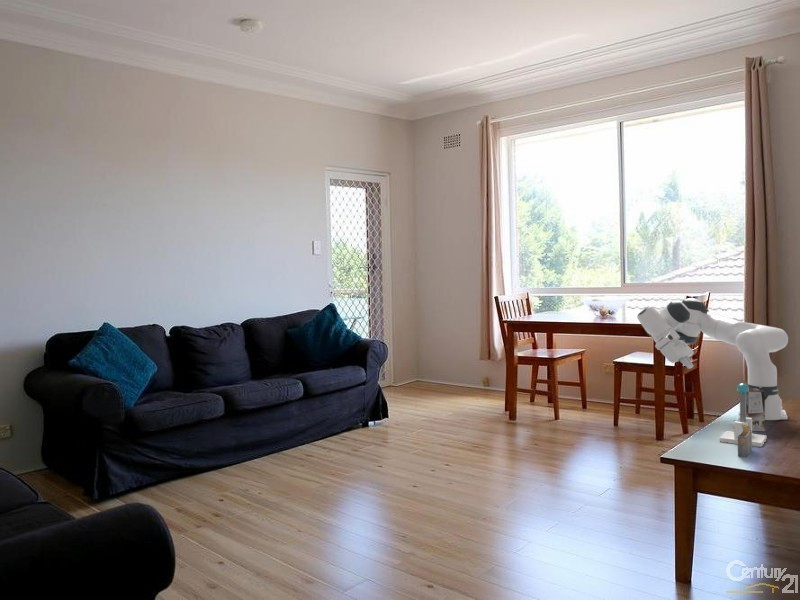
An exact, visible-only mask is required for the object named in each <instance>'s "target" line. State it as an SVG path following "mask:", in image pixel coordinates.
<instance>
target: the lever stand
mask: <svg viewBox="0 0 800 600" xmlns="http://www.w3.org/2000/svg"><path fill="white" fill-rule="evenodd" d="M742 424H744V425H746V426H748V425H749V427H750V428H751V429H750V430H752V418H747V417H746V422H740V416H738V421H737V420H735V421H733V431H730V430H726V431H725V432H723V434H721V436H719V442H720V441H721V443H726V442H728V443H729V444H734V445H736V444H737V445H738V436H739V434H740V433H741V432H742V430H743V428H742V426H741V425H742ZM766 439H767V440H768V438H767V435H766V434H765V435H764V434H757V433H756V434H755V433H752V447H758V448H759V447H760V448H762V447H763V445H764V444H765V443H764V442H766V441H767V440H766Z"/></svg>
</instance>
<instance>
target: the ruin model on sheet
mask: <svg viewBox="0 0 800 600" xmlns="http://www.w3.org/2000/svg"><path fill="white" fill-rule="evenodd" d="M741 426H742V428H743V430H742V432H741V433H740V434H739V436H738V444H737V457H739V458H747V457H748V456H749V454H750V453H751V451H752V450H753V448H752V447H753V446H752V434H753V431H752V430H750V429H751V428H750V427H748V426H746V425H744V424H742V425H741Z"/></svg>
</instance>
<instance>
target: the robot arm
mask: <svg viewBox="0 0 800 600" xmlns="http://www.w3.org/2000/svg"><path fill="white" fill-rule="evenodd" d="M707 312H710V310H709V309H708V308H707V305H706V304H705V303H704V302H703V301H701V299H698V298H696V297H695V298H694V297H689V298H684V299H683V300H682V301H680V300H671V301H670V302H669V303H668V304H667V305H666V306H665V307H663V308H661V309H659V310H657V309H656V308H655V307H654V306H652V305H648V306H646V307H645V308H644V309H643V310H642V311H640V312H639V313H638V314H637V316H636V317H637V320H638V321H639V323H640V324H641V326H642V328H643V329H644V332H646V334H647V335H648V336H649V337H650V338H651V339H653V341H654V342H655V345H654V347H655V349H657V351H660V353H661V354H662V355H663V356H664V357H665V358H666V359H667V361H669V362H670V363H672V364H673V363H677V362H680V363H681V364H682V365H683V366H685V367H686V368H687V369H688V370H690V369H692V368H694V366H695V365H694V364H693V363H692V361H691V357H692V356H693V355H694V354H695V353H694V350H693V349H692V348H691V347H690V346H689V345H694V344H696V343H697V341H698V339H699V334H700V331H701V332H702V333H703V334H705V335H706V336H708V337H710V338H712V339H714V340H718V341H720V342H723V343H727V344H729V345H733V346H735V347H736V348H737V350H738V351H739V352H740V353H741V354H742V355H743V357H744V359H745V364H746V367H747V384H746V385H747V386H748V387H749V388H758V389H760V390H762V391H764V392H765V421H778V420H779V421H780V420H788V417H789V416H788V415H787V412H786V410H785V409H784V406H782V405H783V402H782V401H783V400H782V399H781V397H780V396H779V385H778V369H777V366H776V365H775V364H774V363H773V362H772V359H771V357H770V353H776V352H778V351H780V350H783V349H784V348H786V346H788V344H789V343H788V342H789V336H788V334H787V332H786V331H785V330H784V329H782V328H778V327H775V326H769V325H764V324H756V323H752V322H746V321H740V320H737V319H733V318H729V317H725V316H721V315H715V314H714V315H713V314H708V313H707ZM738 415H739V416H740V411H739V412H738Z"/></svg>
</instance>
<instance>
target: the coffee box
mask: <svg viewBox="0 0 800 600" xmlns="http://www.w3.org/2000/svg"><path fill="white" fill-rule="evenodd" d="M746 417H747V418H752V432H765V431H766V420H765V392H764V391H762V390H760V389H758V388H749V391H748V392H747V393H746Z"/></svg>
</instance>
